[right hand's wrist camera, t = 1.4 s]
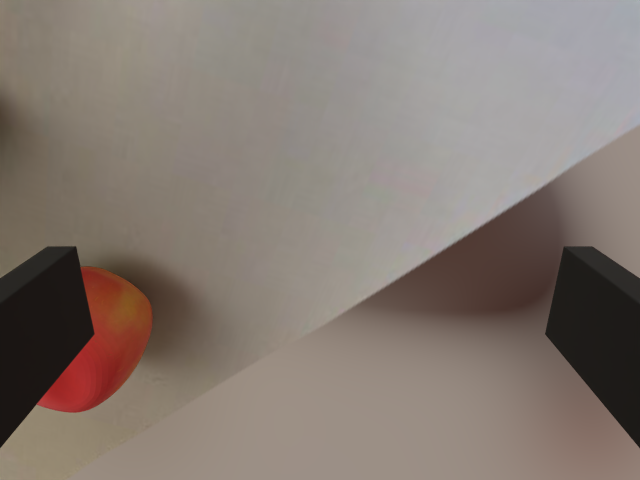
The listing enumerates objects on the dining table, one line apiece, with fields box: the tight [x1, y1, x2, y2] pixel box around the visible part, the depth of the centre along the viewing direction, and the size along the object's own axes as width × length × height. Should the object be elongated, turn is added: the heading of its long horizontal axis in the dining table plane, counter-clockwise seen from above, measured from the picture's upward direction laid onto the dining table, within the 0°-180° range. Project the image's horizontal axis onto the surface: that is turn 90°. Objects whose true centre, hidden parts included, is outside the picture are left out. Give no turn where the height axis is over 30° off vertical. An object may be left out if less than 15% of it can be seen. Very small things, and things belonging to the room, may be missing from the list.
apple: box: [37, 267, 152, 413], centre depth 32 cm, size 10×10×10 cm
